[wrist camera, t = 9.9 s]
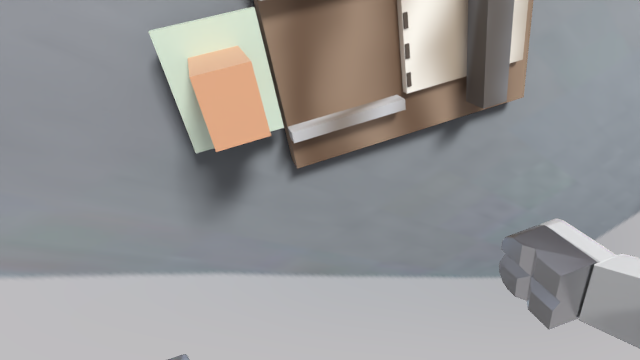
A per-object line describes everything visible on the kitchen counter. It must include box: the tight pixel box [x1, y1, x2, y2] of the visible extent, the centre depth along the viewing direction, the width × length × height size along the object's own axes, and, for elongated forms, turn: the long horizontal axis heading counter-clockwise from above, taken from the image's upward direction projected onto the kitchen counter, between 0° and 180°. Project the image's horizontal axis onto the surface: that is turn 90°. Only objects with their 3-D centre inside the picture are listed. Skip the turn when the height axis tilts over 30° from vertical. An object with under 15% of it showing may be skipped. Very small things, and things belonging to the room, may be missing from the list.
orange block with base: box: [149, 7, 284, 153], centre depth 22 cm, size 6×8×6 cm
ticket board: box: [253, 0, 533, 169], centre depth 26 cm, size 20×15×4 cm
